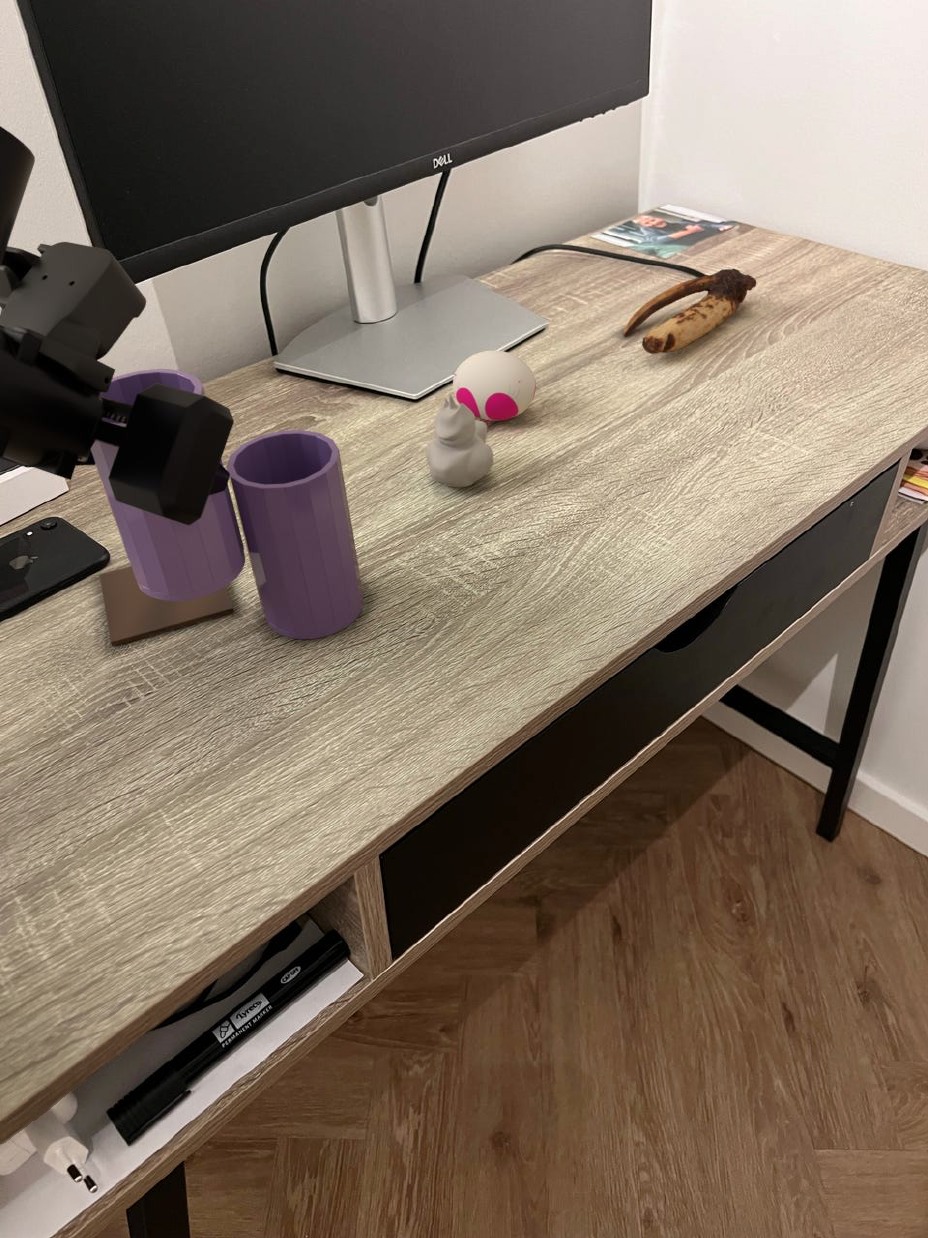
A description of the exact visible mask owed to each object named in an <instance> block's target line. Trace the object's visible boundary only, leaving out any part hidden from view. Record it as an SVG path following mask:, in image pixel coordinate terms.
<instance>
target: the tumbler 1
mask: <svg viewBox="0 0 928 1238" xmlns="http://www.w3.org/2000/svg"><path fill="white" fill-rule="evenodd" d="M155 383H158V384H162V385H166V386H170V387H173V388H177V389H181V390H185V391H188V392H192V393H196V394H200V395H203V396H206V393H205V388H204V385H203V384H202V382H201V381H200V380H199V378H198V377H197V376H196V375H194V374H193V373H189V372H187V371H185V370H181V369H169V368H155V369H144V370H137V371H131V372H129V373H125V374H121V375H117V376H113V378H112V381H111V384H110V387H109V390H108V392H106V393H104V392H101V393H100V396H102V397H106V398H109V399H113V400H116V401H120V402H123V403H127V404H130V405H133V404H134V401H135V399H136V396H137V394H138V393H140V392H141V391H143V390H145V389H146V388H148V387H150V386H152V385H153V384H155ZM102 421H106V422H109V423H112V424H116V425H119V426H122V427H126V425H127V424H124V423H120V422H117V421H113V420H111V419H107V418H102ZM117 451H118V447H114V446H111V445H108V444H105V443H102V442H98V441H96V440H95V442H94V444H93V445H92V447H91V451H90V452H91V454H92V457H93V460H94V463H95V465H94V466H95V468H96V471H97V475H98V478H99V480H100V482H101V483H100V484H101V486H102V488H103V491H104V494H105V497H106V500H107V503H108V505H109V509H110V512H111V514H112V516H113V520H114V522H115V526H116V528H117V532H118V534H119V537H120V540H121V542H122V547H123V548H124V551H125V554H126V558H127V559H128V562H129V567H130V566H131V569H132V571H133V574H134V576H135V579H136V582H137V584H138V586H139V588H140V589H141V590H142V591H143V592H144V593H145V594H147V595H149V596H151V597H153V598H156V599H160V600H165V601H186V600H192V599H197V598H201V597H204V596H207V595H210V594H212V593H215V592H217V591H219V590H221V589H222V588H224V587H226V588H227V586H229V585H230V584H231V583H233V582H234V581H235V580H236V579H237V578H238V577H239V575H240V574H241V573H242V571H243V569H244V567H245V563H246V555H245V545H244V541H243V538H242V534H241V531H240V525H239V521H238V519H237V514H236V511H235V507H234V502H233V499H232V494H231V491H230V487H229V483H228V484H227V487H226V489H225V490H224V491H222V492H219V493H216V494H212V495H209V496H208V499H207V502H206V505H205V508H204V511H203V514H202V517H201V518H200V519H199V520H197V521H196V522H194V523H193V524H191V525H190V526H189V525H186V524H183V523H180V522H177V521H174V520H171V519H168V518H165V517H162V516H159V515H156V514H153V513H150V512H147V511H145V510H142V509H139V508H136V507H133V506H130V505H127V504H124V503H122V502H119V501H116V499H115V496H114V494H113V491H112V488H111V485H110V482H109V479H108V478H109V475H110V472H111V469H112V466H113V463H114V460H115V457H116V454H117ZM220 463H221V464H222V465H223V466H224V464H223V459H222V458H221V461H220Z"/></svg>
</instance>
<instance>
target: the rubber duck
mask: <svg viewBox="0 0 928 1238" xmlns="http://www.w3.org/2000/svg"><path fill="white" fill-rule="evenodd" d="M485 423H486V422H485V421H482V420H478V419H477V420H476V416H475V415H474V414H473V412H472V411H471V410H470V409H469V408H468V407H467V406H465V405H464V404H463V403H461V404H457V403H456V402H455V400H454V398H453V396H452V394H451V393H449V395H448V399H447V398H444V400H443V402H442V405H441V407H440V409H439V411H438V412H437V414H436V416H435V421H434V435H435V436H434V437H433V438H432V439H430V441H429V442H428V444H427V446H426V454H425V455H426V461H427V465H428V467H429V472H430V475H431V477H432V478H433V480H434V481H436V482H437V483H438V484H441V485H445V486H447V487H450V488H451V487H452V488H466V487H469V486H472V485H473V484H475V483H476V482H477V481H479V480H481V479H482V478H483V477H484V476H485V475H486V474H487V473H488V472H490V470H492V467H493V463H494V452H493V449H492V447H491V446H490V445H489V444H487V441H486V440H487V435H488V424H487V425H486V424H485Z"/></svg>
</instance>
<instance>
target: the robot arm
mask: <svg viewBox="0 0 928 1238" xmlns="http://www.w3.org/2000/svg"><path fill="white" fill-rule="evenodd" d="M35 163H36V157H35V155H34V154H33V151H32V150H31V149H30V148H29V147H28V146H27V145H26V144H25V143H24V142H23V141H22V140H20V139H19V138H17V136H15V135H14V134H13V133H11V132H10V131H8V130H7V129H6V128H4V127H2V126H1V125H0V309H1V310H0V459H1V460H4V461H7V462H9V463H12V464H15V465H18V466H21V467H24V468H28V469H29V468H34V469H37V470H40V471H43V472H46V473H49V474H51V475H55V476H57V477H60V478H63V479H67V480H70V481H71V480H72V478H73V474H74V472H75V469H76V466H77V467H78V466H95V463H94V460H93V457H92V454H91V452H90V451H91V447H92V445H93V444H94V442H95V440H96V441H98V442H102V443H105V444H108V445H111V446H114V447H118V451H117V454H116V457H115V460H114V463H113V466H112V469H111V472H110V475H109V478H108V479H109V482H110V485H111V488H112V491H113V494H114V496H115V499H116V501H119V502H122V503H124V504H127V505H130V506H133V507H136V508H139V509H142V510H145V511H147V512H150V513H153V514H156V515H159V516H162V517H165V518H168V519H171V520H174V521H177V522H180V523H183V524H186V525H189V526H190V525H191V524H193V523H194V522H196V521H197V520H199V519H200V518H201V517H202V514H203V511H204V508H205V505H206V502H207V499H208V496H209V495H212V494H216V493H219V492H222V491H224V490H225V489H226V487H227V484H228V485H229V482H230V480H229V478H230V473H229V472H228V471H227V468H226V467H225V466H224V464H223V465H222V464H221V463H220V461H221V459H222V458H223V455H224V452H225V449H226V446H227V443H228V440H229V438H230V434H231V431H232V429H233V426H234V422H235V420H234V417H233V415H232V412H231V410H230V408H229V407H227V406H226V405H224V404H222V403H220V402H218V401H216V400H215V399H214V400H213V399H212V398H210V397H208V396H207V395H205V396H203V395H200V394H196V393H192V392H188V391H185V390H181V389H177V388H173V387H170V386H166V385H162V384H158V383H155V384H153V385H152V386H150V387H148V388H146V389H145V390H143V391H141V392H140V393H138V394H137V396H136V399H135V401H134V404H133V405H130V404H127V403H123V402H120V401H116V400H113V399H109V398H106V397H102V396H100V393H101V392H104V393H106V392H108V390H109V387H110V384H111V381H112V378H114V375H115V373H116V369H115V368H113V367H112V366H109V365H107V364H105V363H103V362H101V361H100V360H101V359H102V358H104V357H105V356H106V355H107V354H108V353H110V351H111V350H112V348H113V347H114V346H115V344H116V343H117V341H118V340H119V339H120V337H121V336H122V334H123V333H125V331H126V329H127V328H128V327H129V325H130V324H131V323H132V321H133V320H134V319H137V318H139V317H140V316H141V315H142V313H143V312H144V310H145V309H146V305H147V300H146V297H145V295H144V293H142V292H141V290H140V289H139V287H138V286H137V285H136V283H135V282H134V281H133V280H132V278H131V277H130V276H129V274H128V273H127V271H125V269H124V268H123V266H122V265H121V263H120V262H119V261H118V260H117V259H116V257H115V256H114V255H113V253H112V252H111V251H110V250H109V249H105V248H101V247H96V246H90V245H84V244H80V243H75V242H71V241H70V242H69V241H61V242H56V243H54V244H45V243H40V244H39V245H38V246H37V248H36V249H37V251H38V252H39V254H40V256H39V255H37V254H34V253H32V252H29V251H27V250H25V249H22V248H19V247H13V246H9V241H10V238H11V236H12V233H13V230H14V226H15V224H16V221H17V218H18V214H19V211H20V208H21V205H22V202H23V199H24V196H25V193H26V190H27V187H28V184H29V181H30V177H31V174H32V171H33V168H34V165H35ZM102 418H107V419H111V420H113V421H117V422H120V423H124V424H127V425H126V427H122V426H119V425H116V424H112V423H109V422H106V421H102Z"/></svg>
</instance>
